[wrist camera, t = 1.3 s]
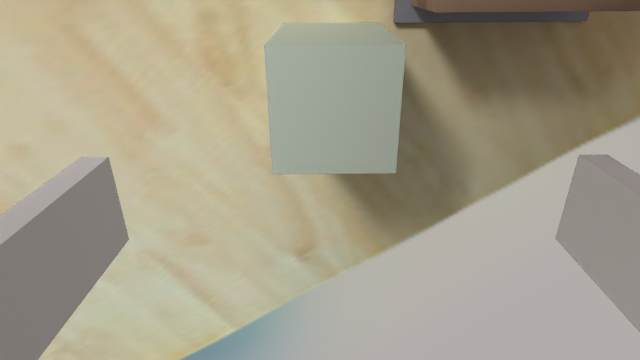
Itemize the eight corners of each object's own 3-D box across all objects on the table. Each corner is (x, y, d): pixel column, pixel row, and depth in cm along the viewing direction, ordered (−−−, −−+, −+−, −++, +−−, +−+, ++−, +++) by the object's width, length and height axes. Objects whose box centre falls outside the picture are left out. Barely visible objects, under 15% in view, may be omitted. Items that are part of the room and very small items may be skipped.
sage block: (284, 23, 27) (264, 45, 18) (377, 22, 27) (406, 44, 18) (288, 113, 29) (272, 174, 20) (373, 113, 29) (396, 173, 20)
